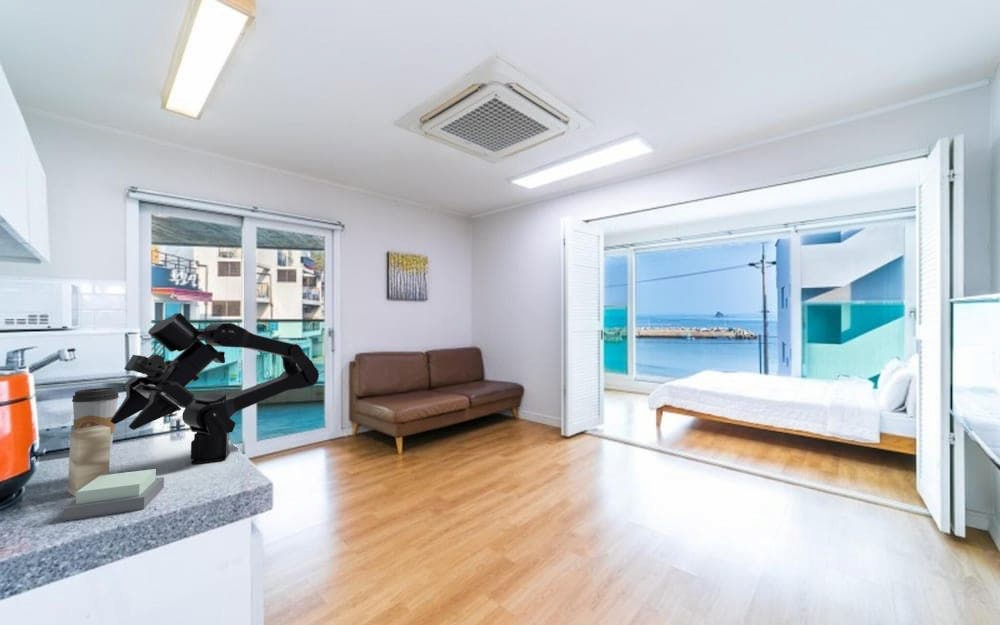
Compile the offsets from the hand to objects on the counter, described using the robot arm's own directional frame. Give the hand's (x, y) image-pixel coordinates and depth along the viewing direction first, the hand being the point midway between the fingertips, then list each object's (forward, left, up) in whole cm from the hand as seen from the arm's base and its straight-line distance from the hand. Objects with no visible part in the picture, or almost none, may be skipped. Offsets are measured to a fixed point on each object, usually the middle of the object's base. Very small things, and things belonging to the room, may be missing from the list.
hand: (121, 425), depth 80 cm
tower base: (-4, +12, -11) cm, 17 cm away
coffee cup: (+15, -30, -11) cm, 35 cm away
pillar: (+4, +2, -11) cm, 12 cm away
